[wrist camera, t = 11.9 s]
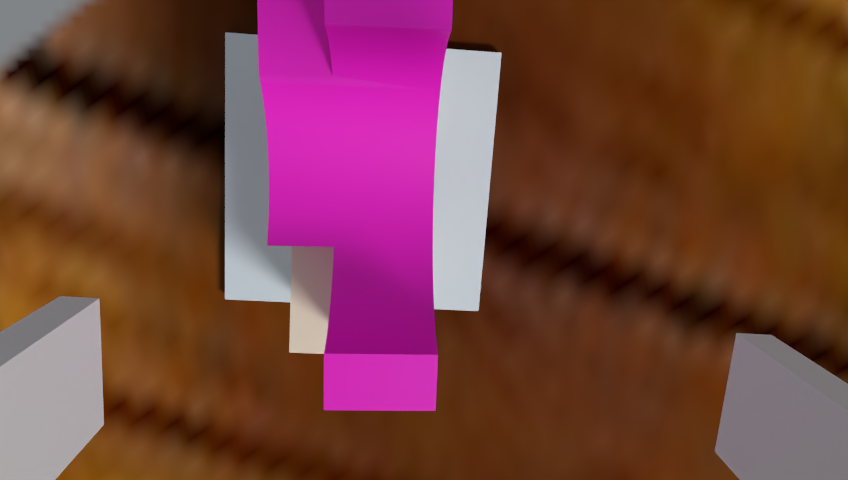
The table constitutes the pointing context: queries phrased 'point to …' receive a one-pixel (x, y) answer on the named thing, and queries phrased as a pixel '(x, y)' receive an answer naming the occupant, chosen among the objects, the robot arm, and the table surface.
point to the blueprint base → (448, 179)
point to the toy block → (360, 180)
